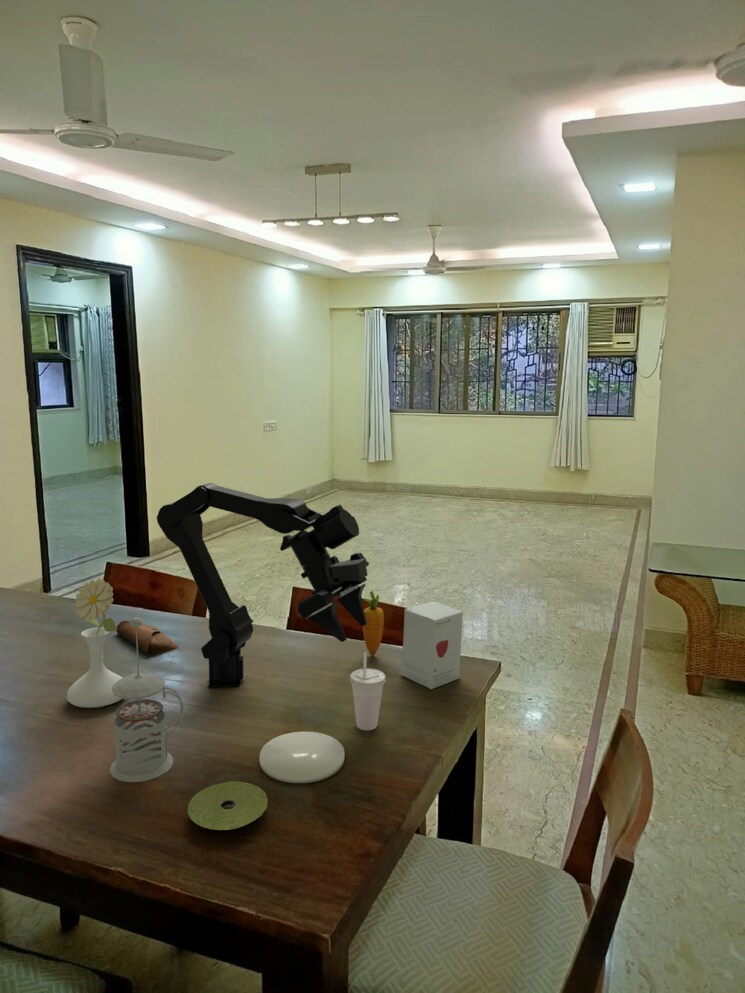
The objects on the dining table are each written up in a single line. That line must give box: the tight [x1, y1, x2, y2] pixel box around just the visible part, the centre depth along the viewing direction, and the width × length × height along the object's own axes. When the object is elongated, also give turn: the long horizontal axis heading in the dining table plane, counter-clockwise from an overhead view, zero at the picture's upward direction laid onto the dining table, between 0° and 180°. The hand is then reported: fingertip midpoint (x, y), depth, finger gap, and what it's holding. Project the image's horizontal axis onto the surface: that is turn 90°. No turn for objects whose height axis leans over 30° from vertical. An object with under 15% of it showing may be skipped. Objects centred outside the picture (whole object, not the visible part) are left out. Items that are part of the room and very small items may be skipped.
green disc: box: [187, 781, 268, 831], centre depth 99 cm, size 11×11×2 cm
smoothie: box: [349, 651, 386, 731], centre depth 124 cm, size 6×6×14 cm
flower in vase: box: [65, 578, 123, 709], centre depth 131 cm, size 13×11×25 cm
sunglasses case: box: [115, 620, 180, 657], centre depth 162 cm, size 18×7×7 cm, turn 42°
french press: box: [109, 616, 185, 783], centre depth 110 cm, size 10×12×25 cm
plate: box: [259, 731, 346, 784], centre depth 114 cm, size 14×14×1 cm
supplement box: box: [401, 601, 464, 690], centre depth 145 cm, size 9×9×15 cm
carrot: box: [362, 590, 385, 657], centre depth 155 cm, size 5×5×15 cm
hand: (354, 632), depth 130 cm, fingers open, 9 cm apart
